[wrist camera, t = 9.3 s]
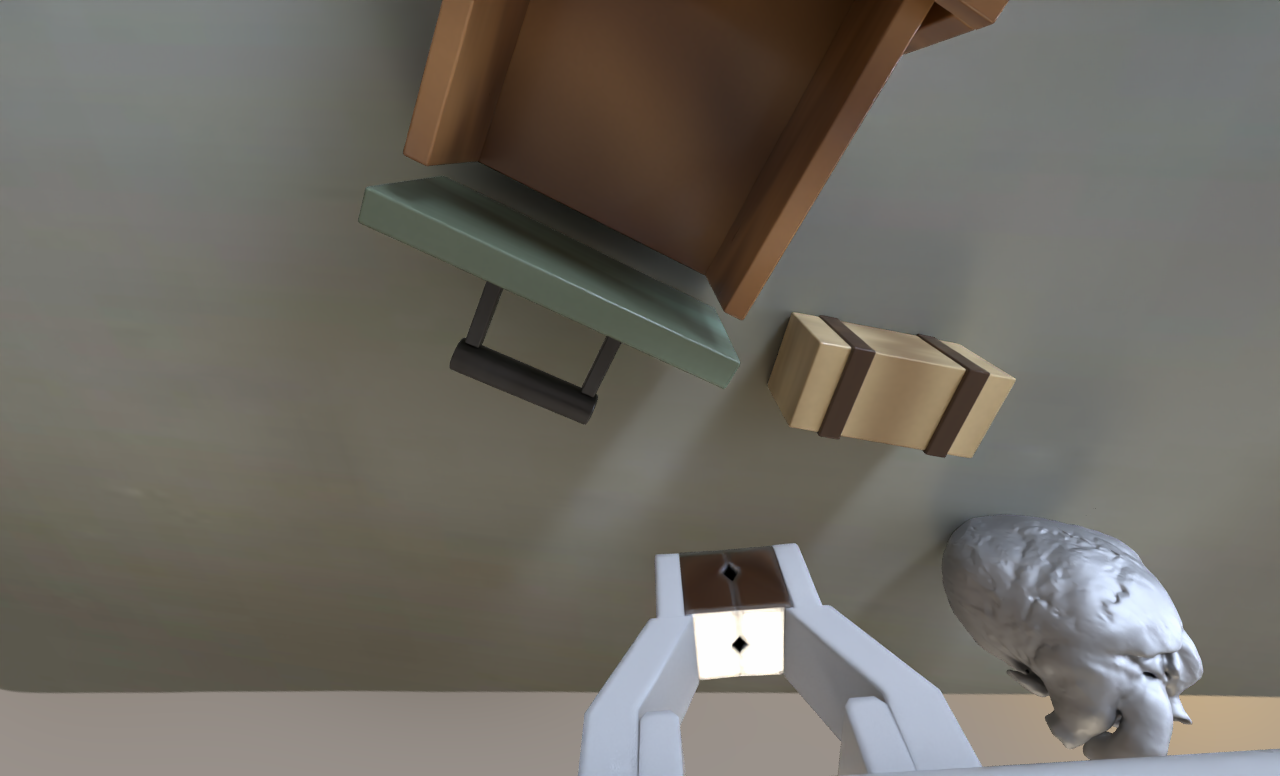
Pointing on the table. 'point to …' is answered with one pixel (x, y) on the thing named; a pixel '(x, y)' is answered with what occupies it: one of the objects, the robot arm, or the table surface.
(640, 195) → the drawer
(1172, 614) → the heart
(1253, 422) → the table surface
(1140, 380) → the table surface
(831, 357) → the bundle
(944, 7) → the cabinet
